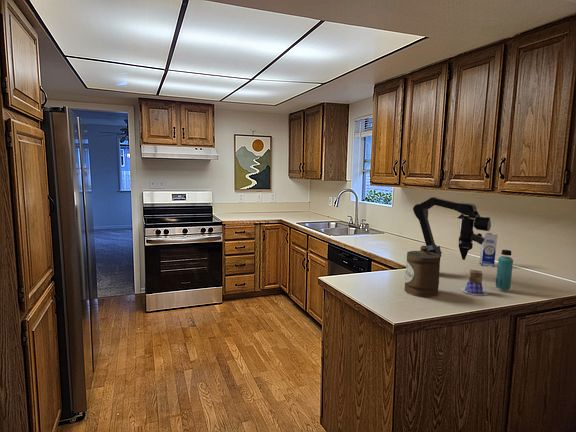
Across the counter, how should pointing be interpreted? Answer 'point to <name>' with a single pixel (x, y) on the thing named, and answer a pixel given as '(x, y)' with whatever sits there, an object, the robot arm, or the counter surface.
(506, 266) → the beverage bottle
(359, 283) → the counter surface
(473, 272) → the walnut block
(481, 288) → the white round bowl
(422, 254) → the wooden container
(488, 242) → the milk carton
